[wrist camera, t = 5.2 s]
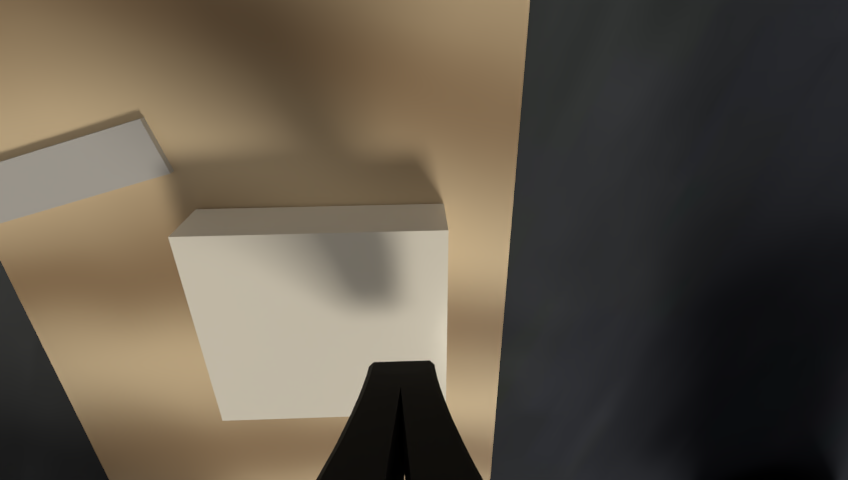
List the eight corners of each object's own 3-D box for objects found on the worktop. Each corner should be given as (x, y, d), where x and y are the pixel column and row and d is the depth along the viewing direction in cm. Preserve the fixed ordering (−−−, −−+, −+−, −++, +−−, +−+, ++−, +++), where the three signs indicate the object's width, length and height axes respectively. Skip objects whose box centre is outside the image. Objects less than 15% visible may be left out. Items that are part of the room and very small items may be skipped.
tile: (445, 413, 14) (222, 420, 14) (442, 373, 15) (240, 379, 15) (448, 230, 11) (168, 237, 11) (443, 202, 12) (196, 208, 12)
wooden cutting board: (487, 475, 19) (489, 489, 18) (129, 488, 18) (120, 503, 18) (529, -64, 10) (535, -67, 10) (-128, -57, 10) (-159, -60, 9)
